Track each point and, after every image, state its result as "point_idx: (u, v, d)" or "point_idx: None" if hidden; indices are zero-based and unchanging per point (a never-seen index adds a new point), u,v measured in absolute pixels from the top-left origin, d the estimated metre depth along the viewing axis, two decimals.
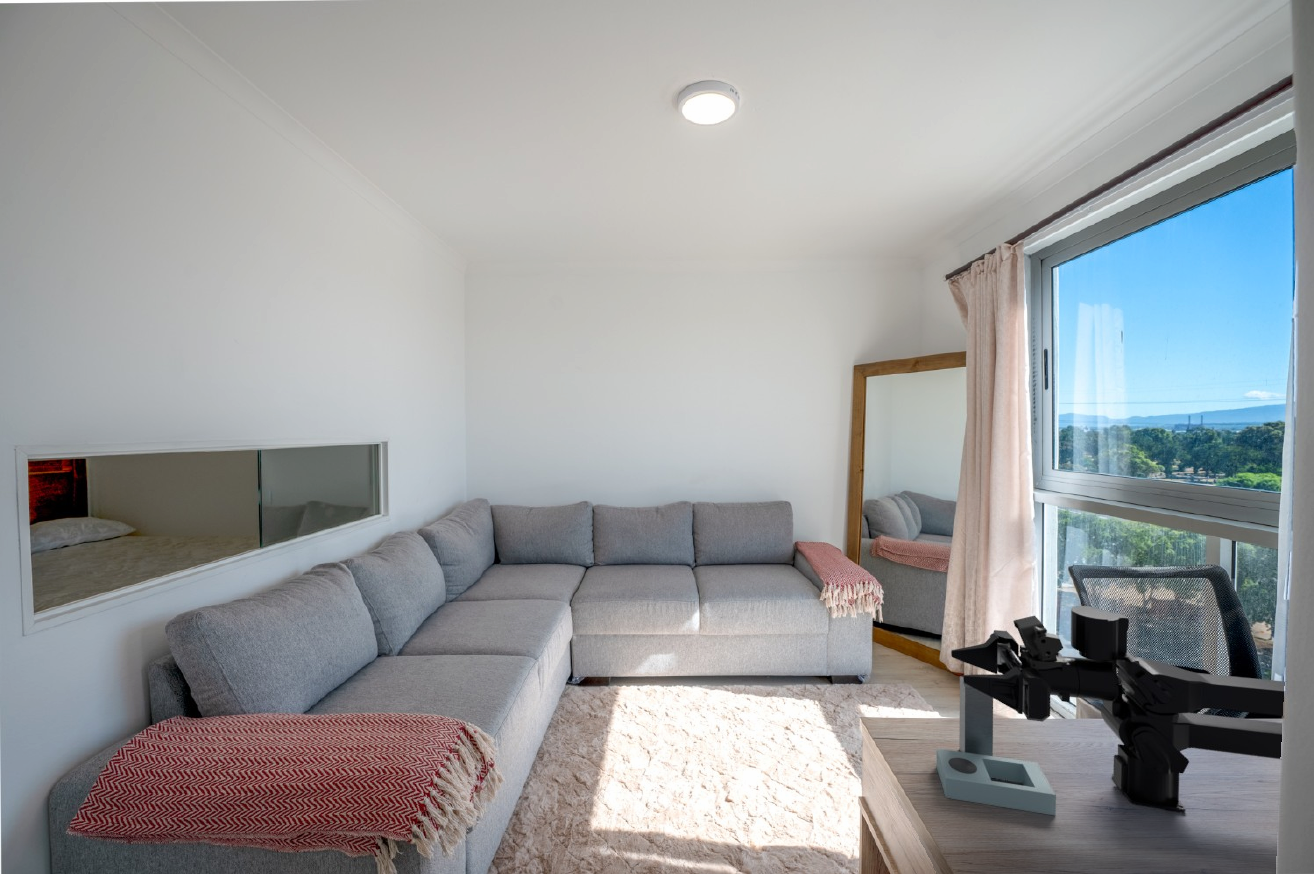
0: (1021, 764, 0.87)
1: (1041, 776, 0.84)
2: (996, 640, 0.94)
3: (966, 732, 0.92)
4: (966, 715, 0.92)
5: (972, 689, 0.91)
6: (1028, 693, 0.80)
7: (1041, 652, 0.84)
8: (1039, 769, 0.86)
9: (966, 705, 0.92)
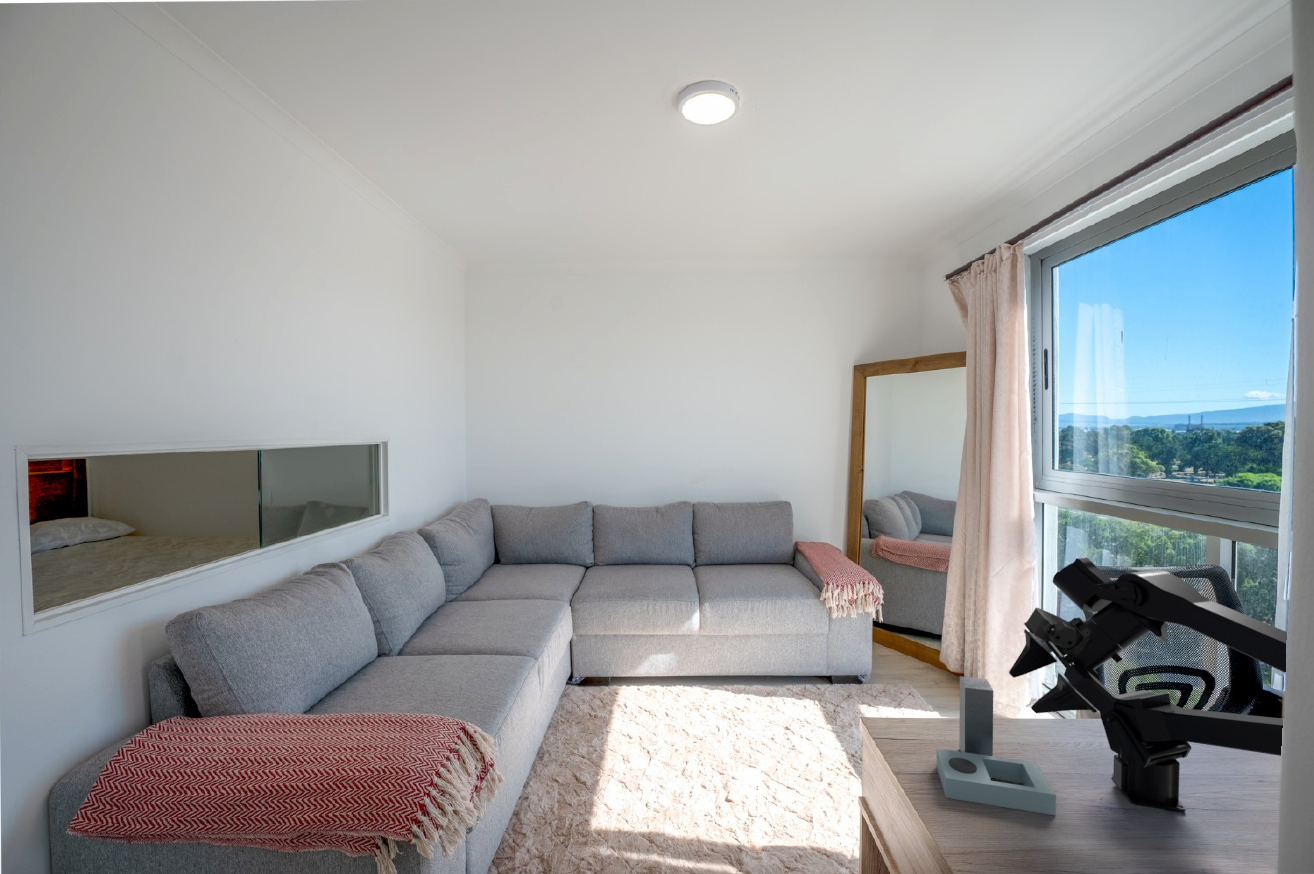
0: (1021, 764, 0.87)
1: (1041, 776, 0.84)
2: (1031, 638, 0.95)
3: (966, 732, 0.92)
4: (966, 715, 0.92)
5: (972, 689, 0.91)
6: (1085, 697, 0.81)
7: (1065, 646, 0.85)
8: (1039, 769, 0.86)
9: (966, 705, 0.92)
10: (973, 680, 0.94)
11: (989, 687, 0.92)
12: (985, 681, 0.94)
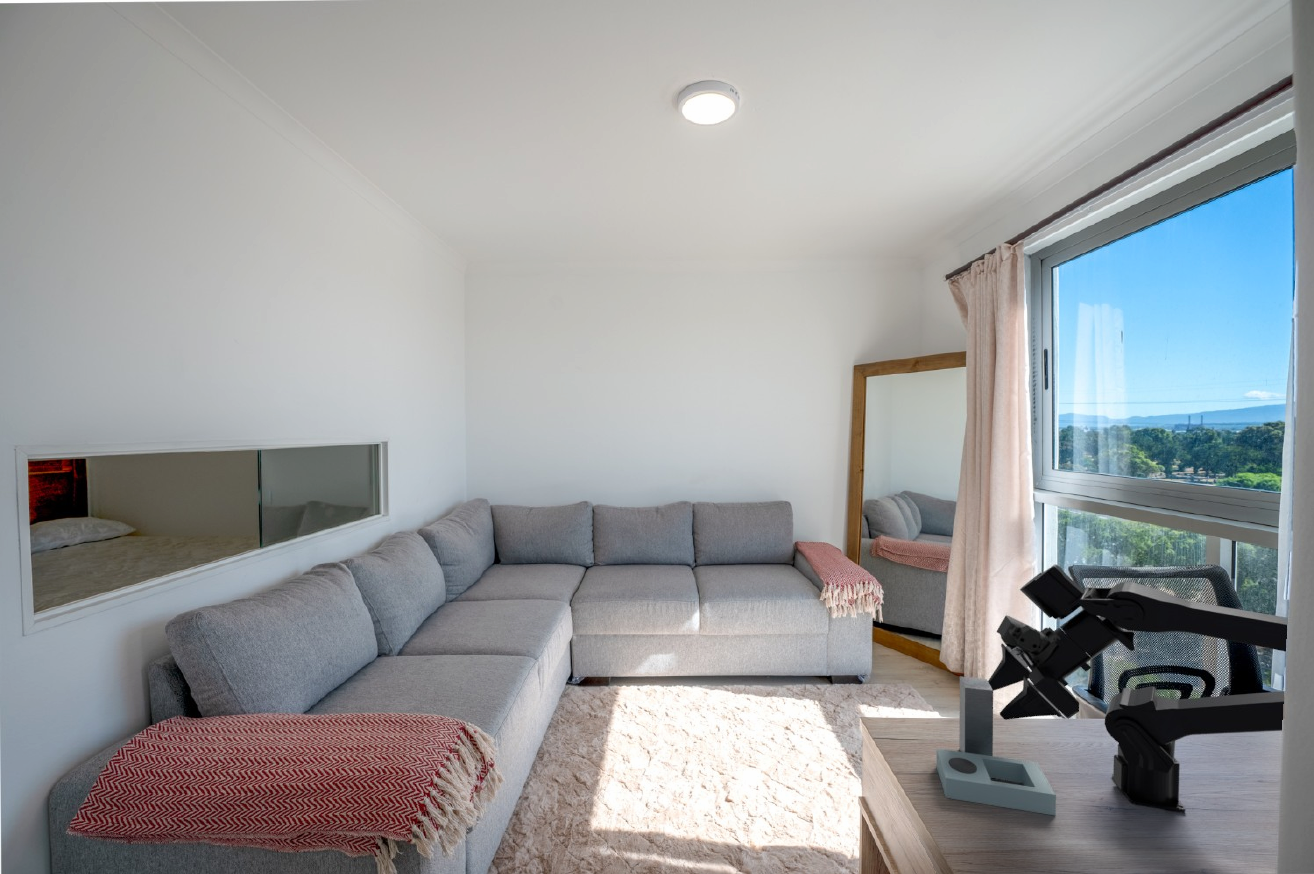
0: (1021, 764, 0.87)
1: (1041, 776, 0.84)
2: (1006, 650, 0.96)
3: (966, 732, 0.92)
4: (966, 715, 0.92)
5: (972, 689, 0.91)
6: (1047, 698, 0.82)
7: (1030, 649, 0.87)
8: (1039, 769, 0.86)
9: (966, 705, 0.92)
10: (973, 680, 0.94)
11: (989, 687, 0.92)
12: (985, 681, 0.94)
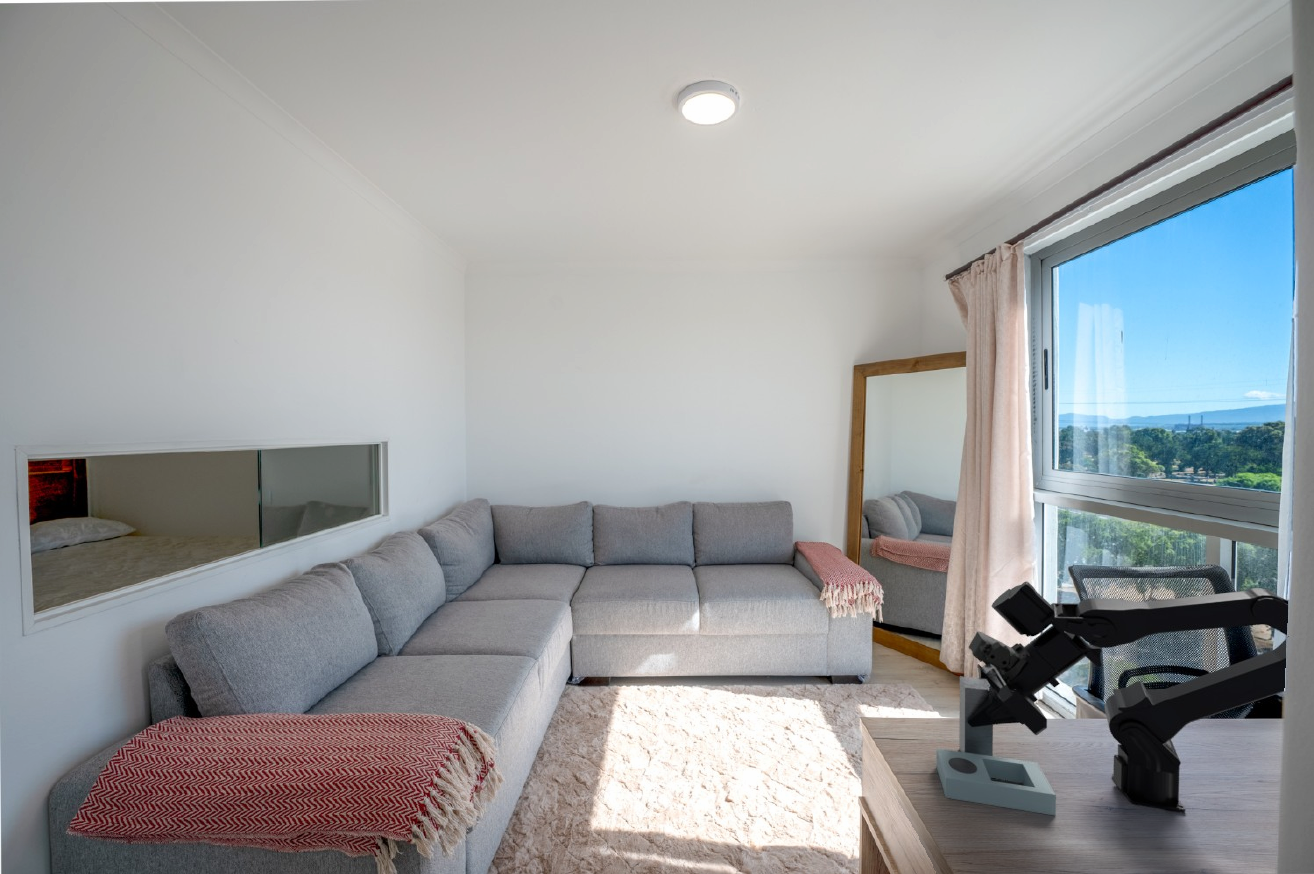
0: (1021, 764, 0.87)
1: (1041, 776, 0.84)
2: (982, 672, 0.95)
3: (966, 732, 0.92)
4: (966, 715, 0.92)
5: (972, 689, 0.91)
6: (1015, 715, 0.83)
7: (1000, 666, 0.88)
8: (1039, 769, 0.86)
9: (966, 705, 0.92)
10: (973, 680, 0.94)
11: None
12: (985, 681, 0.94)
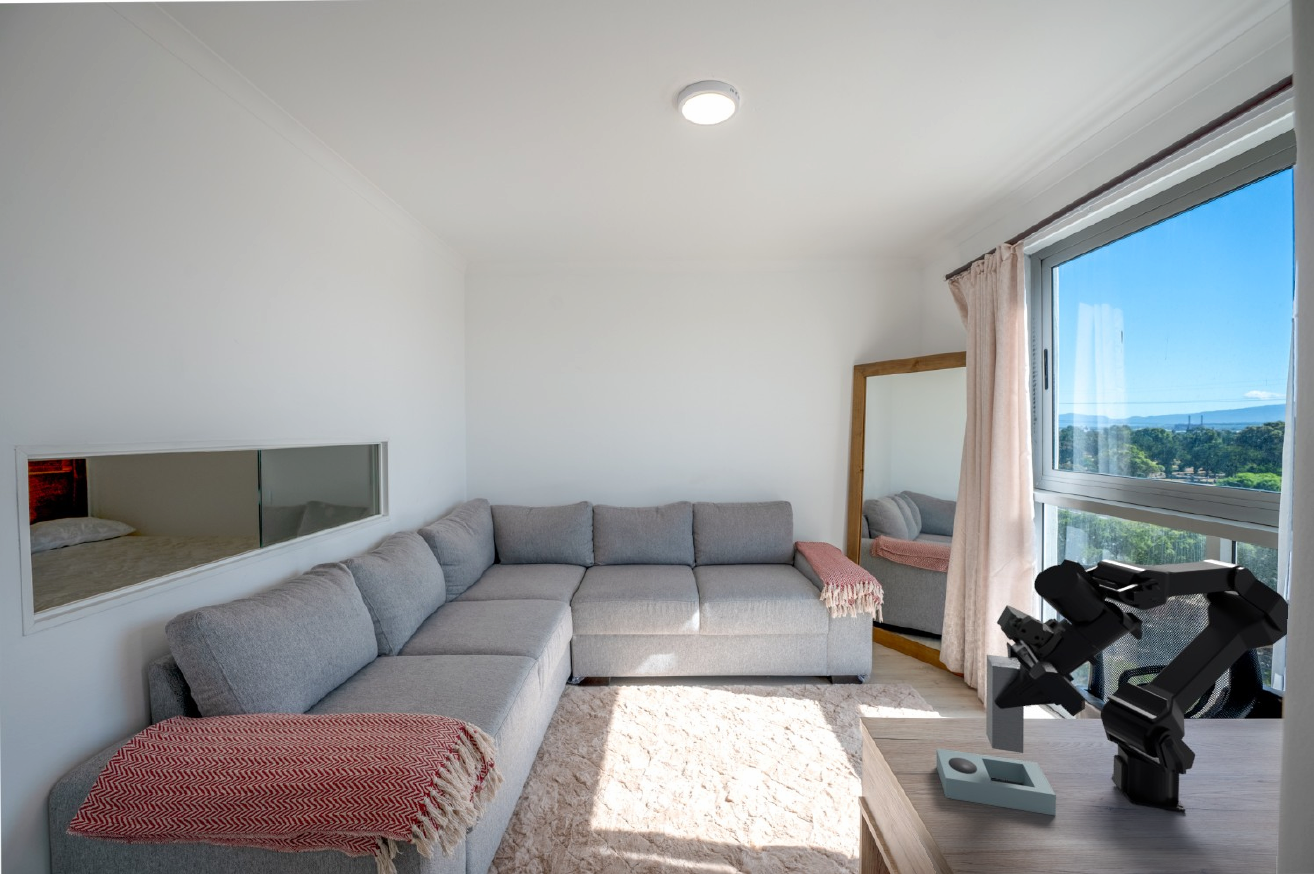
0: (1021, 764, 0.87)
1: (1041, 776, 0.84)
2: (1011, 650, 0.87)
3: (994, 714, 0.84)
4: (994, 696, 0.84)
5: (1000, 667, 0.84)
6: (1049, 694, 0.76)
7: (1032, 641, 0.80)
8: (1039, 769, 0.86)
9: (994, 685, 0.84)
10: (1001, 659, 0.86)
11: (1019, 666, 0.84)
12: (1014, 659, 0.86)
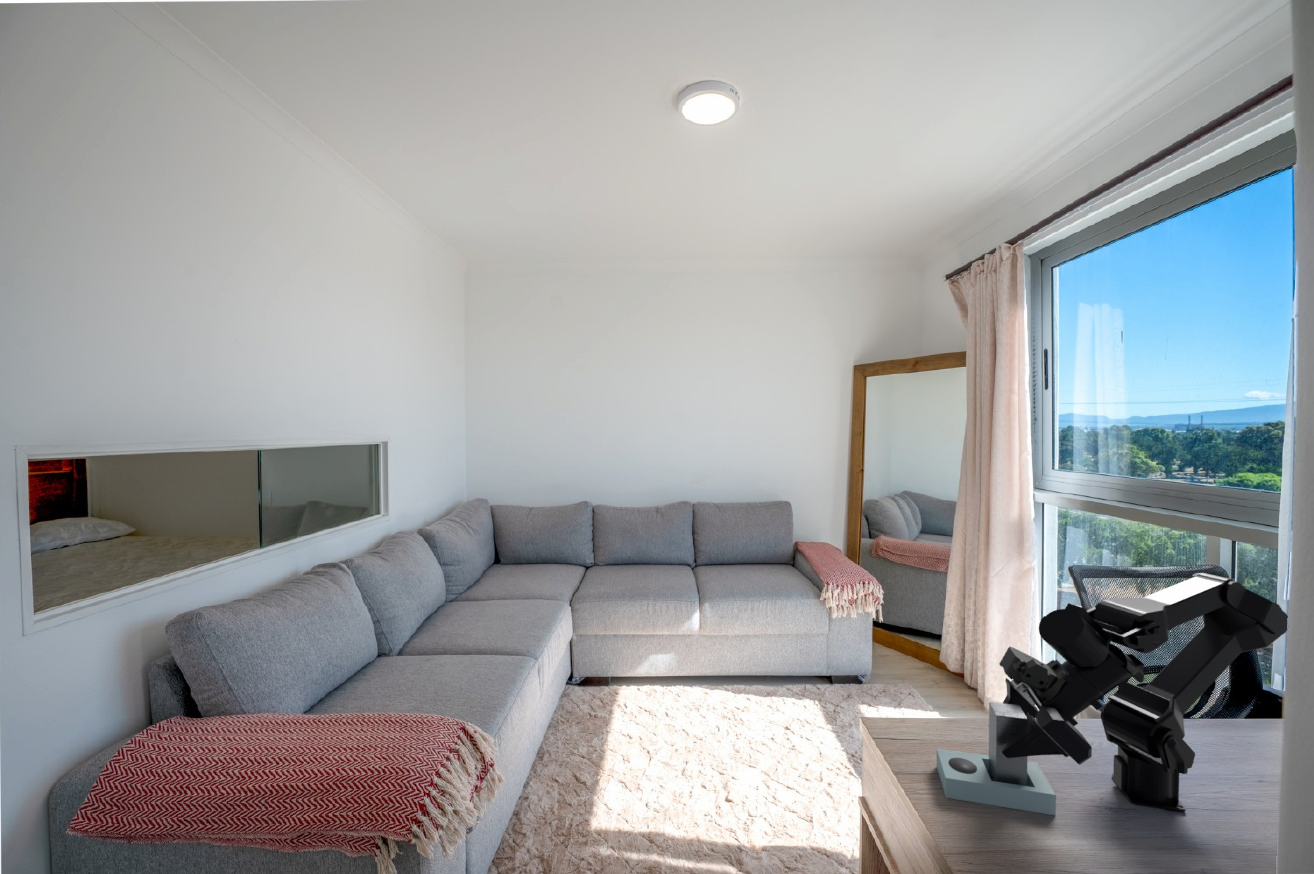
0: None
1: (1041, 776, 0.84)
2: (1011, 687, 0.88)
3: (997, 764, 0.84)
4: (997, 745, 0.84)
5: (1004, 717, 0.83)
6: (1056, 742, 0.75)
7: (1036, 686, 0.80)
8: (1039, 769, 0.86)
9: (997, 734, 0.83)
10: (1004, 706, 0.86)
11: (1023, 715, 0.83)
12: (1017, 707, 0.85)
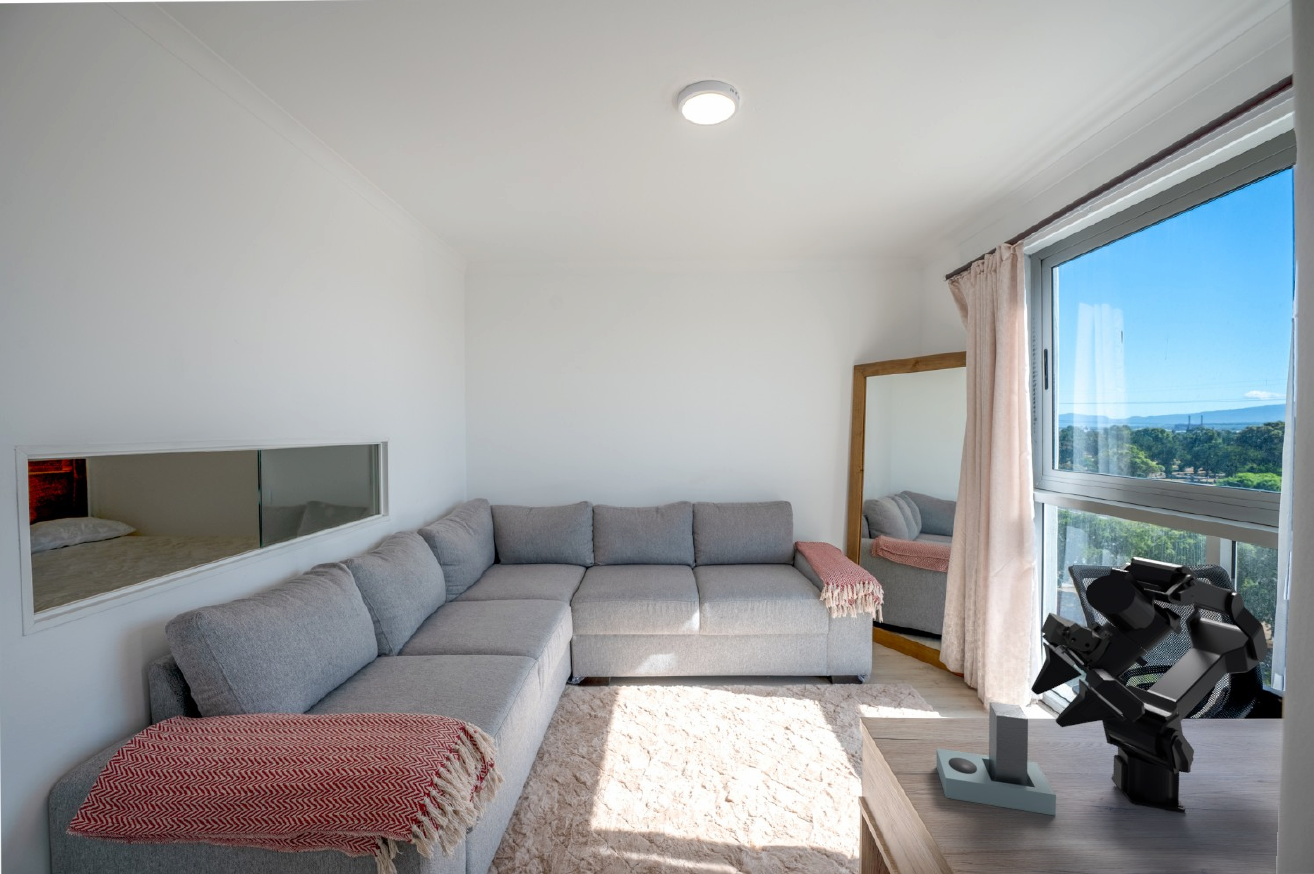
0: None
1: (1041, 776, 0.84)
2: (1050, 649, 0.90)
3: (997, 764, 0.84)
4: (998, 745, 0.84)
5: (1004, 717, 0.83)
6: (1109, 702, 0.76)
7: (1082, 649, 0.81)
8: (1039, 769, 0.86)
9: (998, 734, 0.83)
10: (1004, 707, 0.86)
11: (1023, 715, 0.83)
12: (1017, 707, 0.85)
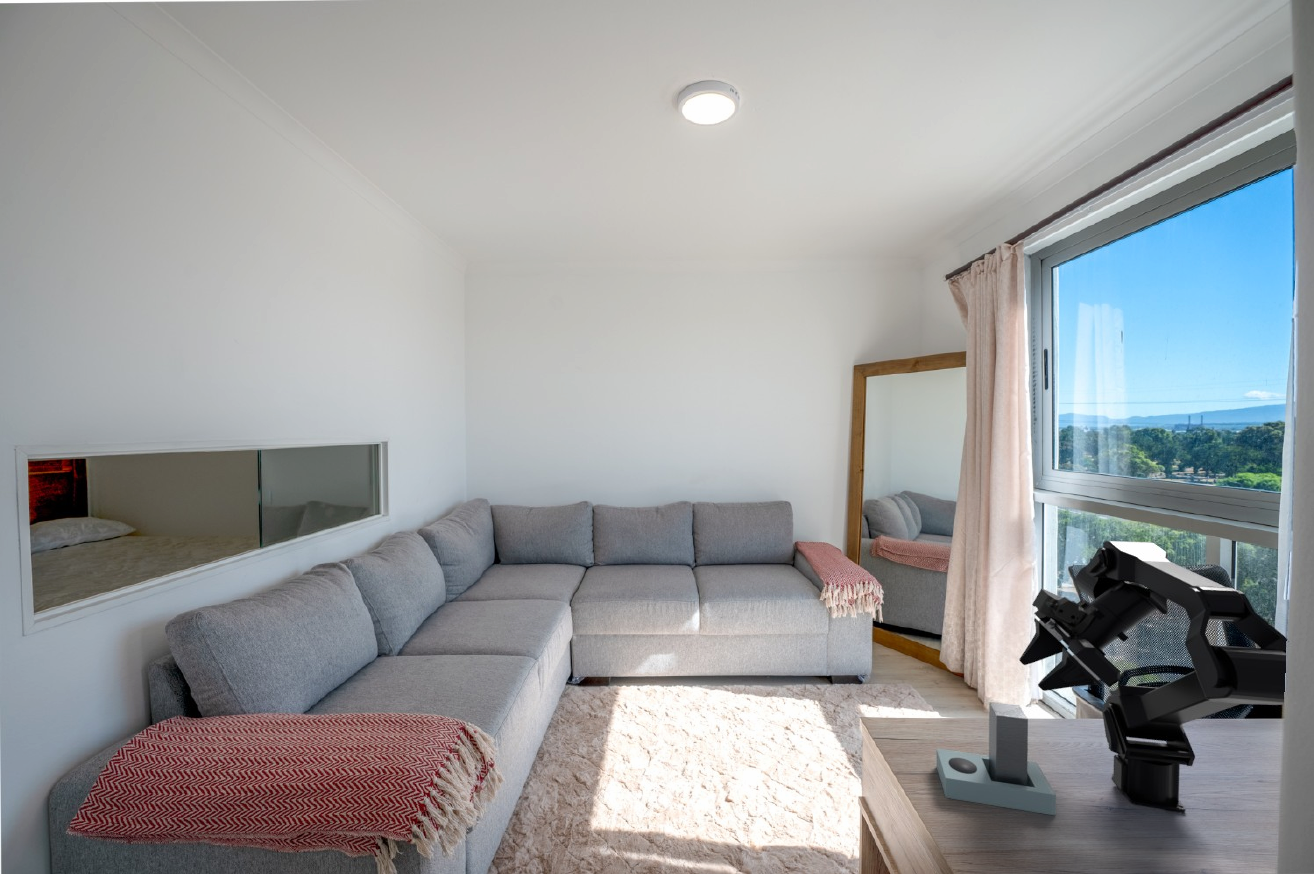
0: None
1: (1041, 776, 0.84)
2: (1040, 624, 0.97)
3: (997, 764, 0.84)
4: (997, 745, 0.84)
5: (1004, 717, 0.83)
6: (1088, 667, 0.83)
7: (1068, 620, 0.88)
8: (1039, 769, 0.86)
9: (997, 734, 0.83)
10: (1004, 706, 0.86)
11: (1023, 715, 0.83)
12: (1017, 707, 0.85)
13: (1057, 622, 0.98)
